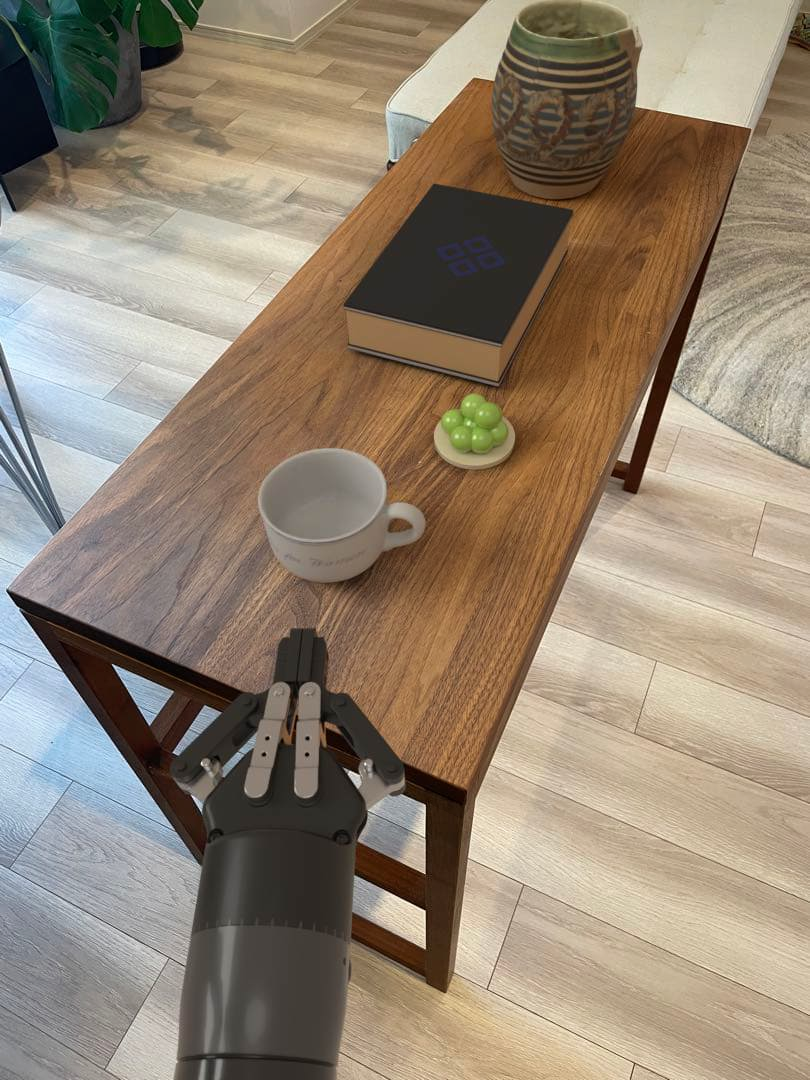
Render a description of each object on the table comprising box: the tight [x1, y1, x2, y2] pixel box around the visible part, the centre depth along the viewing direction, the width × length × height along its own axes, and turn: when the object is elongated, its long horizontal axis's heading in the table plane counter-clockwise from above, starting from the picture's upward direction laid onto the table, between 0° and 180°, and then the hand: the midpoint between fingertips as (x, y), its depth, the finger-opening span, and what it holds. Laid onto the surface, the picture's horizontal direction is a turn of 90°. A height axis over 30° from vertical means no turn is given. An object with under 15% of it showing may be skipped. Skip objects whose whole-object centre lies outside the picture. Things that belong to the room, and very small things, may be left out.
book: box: [342, 182, 575, 388], centre depth 93 cm, size 17×25×7 cm
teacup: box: [257, 447, 426, 584], centre depth 71 cm, size 14×11×8 cm
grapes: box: [433, 392, 516, 471], centre depth 80 cm, size 8×8×5 cm
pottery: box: [491, 0, 644, 200], centre depth 104 cm, size 18×18×20 cm
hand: (305, 635), depth 50 cm, fingers closed
